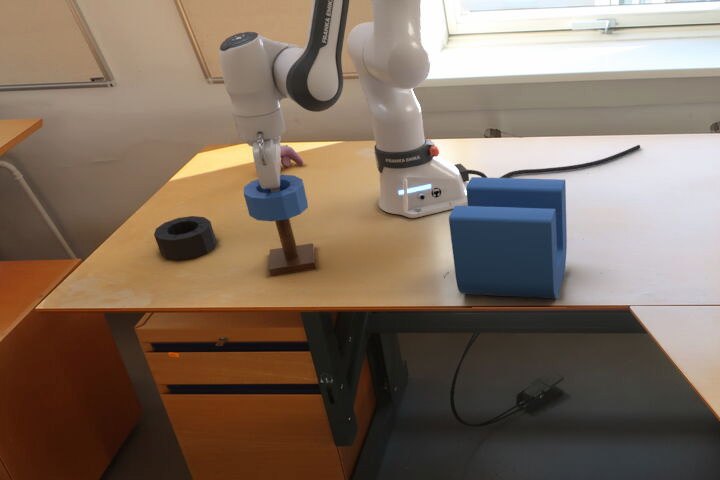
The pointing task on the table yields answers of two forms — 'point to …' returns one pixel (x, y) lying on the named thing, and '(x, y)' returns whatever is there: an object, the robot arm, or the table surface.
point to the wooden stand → (290, 252)
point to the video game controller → (289, 156)
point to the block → (510, 237)
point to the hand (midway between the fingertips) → (277, 192)
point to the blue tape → (276, 199)
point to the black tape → (185, 238)
